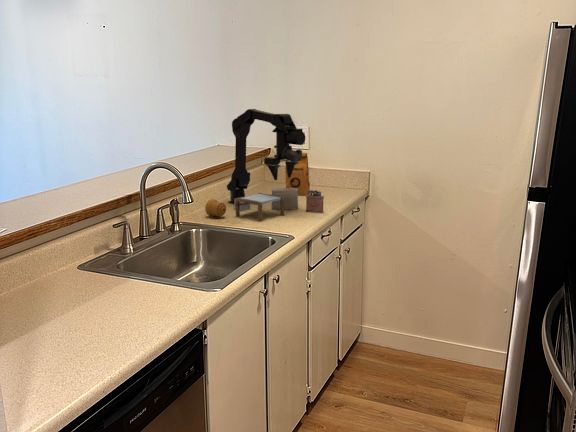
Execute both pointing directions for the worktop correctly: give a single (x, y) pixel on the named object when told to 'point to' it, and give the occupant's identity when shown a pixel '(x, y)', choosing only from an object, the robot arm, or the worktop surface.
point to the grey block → (286, 198)
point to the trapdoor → (262, 198)
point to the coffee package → (299, 176)
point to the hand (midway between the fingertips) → (282, 178)
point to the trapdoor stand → (245, 201)
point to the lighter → (314, 202)
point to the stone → (243, 207)
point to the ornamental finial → (215, 208)
